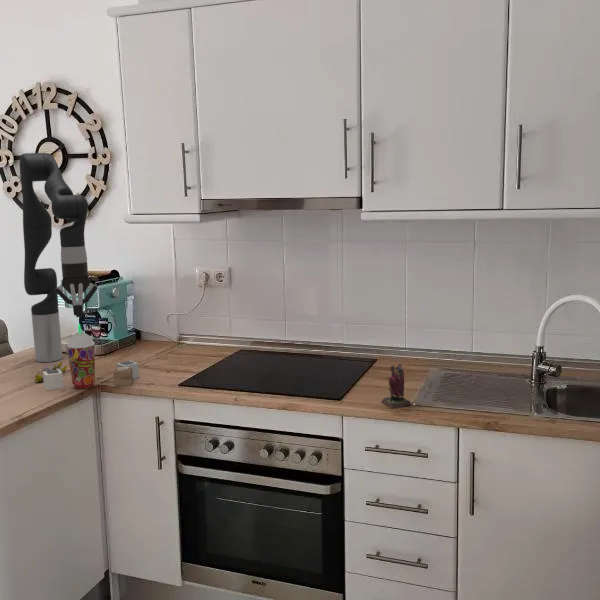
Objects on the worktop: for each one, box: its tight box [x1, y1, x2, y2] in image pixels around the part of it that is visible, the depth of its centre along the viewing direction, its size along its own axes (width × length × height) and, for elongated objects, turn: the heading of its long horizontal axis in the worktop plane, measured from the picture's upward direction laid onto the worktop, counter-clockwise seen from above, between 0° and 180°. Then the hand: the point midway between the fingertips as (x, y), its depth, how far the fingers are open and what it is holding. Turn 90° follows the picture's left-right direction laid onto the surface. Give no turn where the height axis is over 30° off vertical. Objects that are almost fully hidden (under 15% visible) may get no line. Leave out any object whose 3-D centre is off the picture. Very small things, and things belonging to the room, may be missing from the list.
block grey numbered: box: [115, 360, 140, 380], centre depth 228 cm, size 5×5×5 cm
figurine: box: [381, 363, 412, 410], centre depth 195 cm, size 6×6×12 cm
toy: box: [34, 361, 68, 384], centre depth 232 cm, size 5×5×15 cm
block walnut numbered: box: [113, 367, 134, 388], centre depth 221 cm, size 5×5×5 cm
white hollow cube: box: [43, 369, 64, 392], centre depth 220 cm, size 5×5×5 cm
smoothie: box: [66, 323, 96, 390], centre depth 219 cm, size 8×8×20 cm
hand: (78, 316), depth 216 cm, fingers closed
